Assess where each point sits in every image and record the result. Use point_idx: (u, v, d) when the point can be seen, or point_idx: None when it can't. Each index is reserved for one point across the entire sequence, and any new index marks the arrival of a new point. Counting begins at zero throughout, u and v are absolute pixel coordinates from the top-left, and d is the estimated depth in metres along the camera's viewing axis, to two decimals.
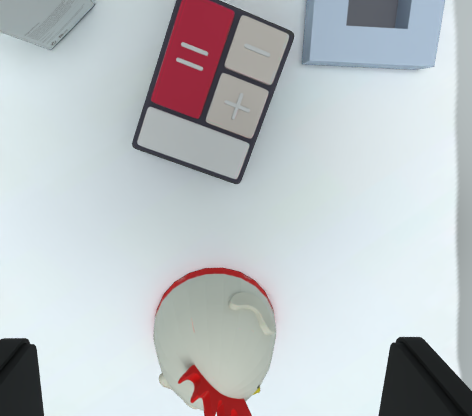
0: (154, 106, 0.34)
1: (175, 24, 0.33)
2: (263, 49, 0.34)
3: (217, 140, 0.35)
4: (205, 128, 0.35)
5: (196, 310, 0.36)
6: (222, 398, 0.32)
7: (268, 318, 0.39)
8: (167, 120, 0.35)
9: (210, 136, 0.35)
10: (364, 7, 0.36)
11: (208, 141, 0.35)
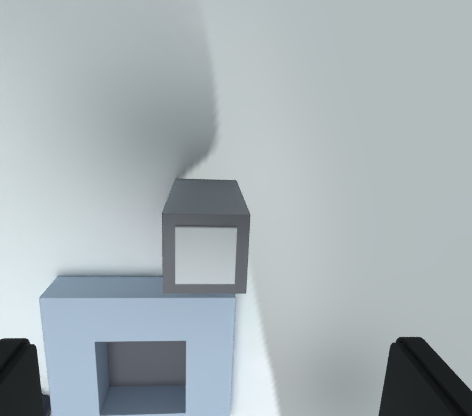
0: None
1: None
2: None
3: None
4: None
5: None
6: None
7: None
8: None
9: None
10: (142, 360, 0.28)
11: None
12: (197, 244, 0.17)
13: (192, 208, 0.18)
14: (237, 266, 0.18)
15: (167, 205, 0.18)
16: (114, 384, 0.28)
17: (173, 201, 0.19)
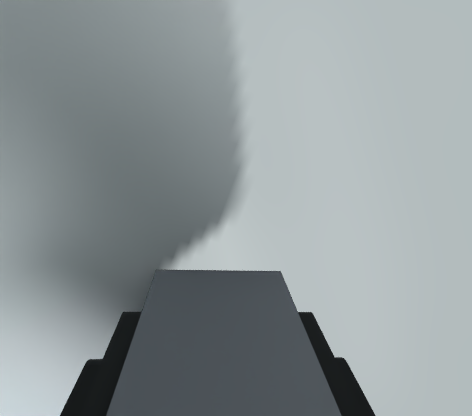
0: None
1: None
2: None
3: None
4: None
5: None
6: None
7: None
8: None
9: None
10: None
11: None
12: None
13: None
14: None
15: None
16: None
17: None
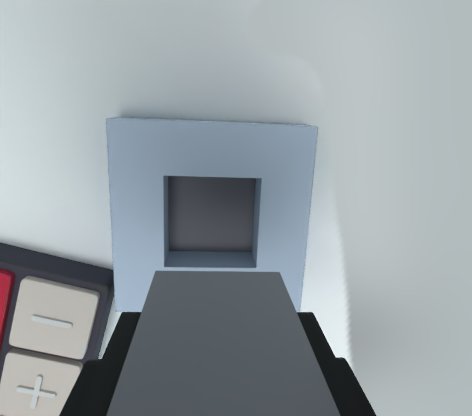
0: None
1: None
2: (61, 319, 0.23)
3: None
4: None
5: None
6: None
7: None
8: None
9: None
10: (205, 220, 0.25)
11: None
12: None
13: None
14: None
15: None
16: (174, 248, 0.26)
17: None
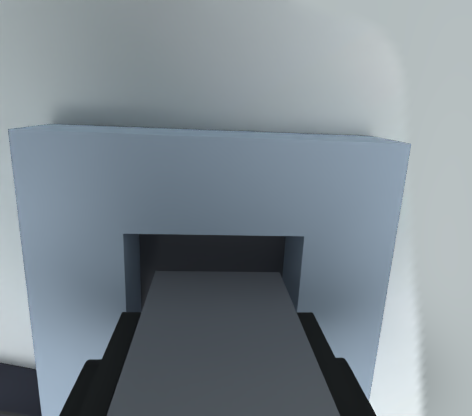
0: None
1: None
2: None
3: None
4: None
5: None
6: None
7: None
8: None
9: None
10: None
11: None
12: None
13: None
14: None
15: None
16: None
17: None
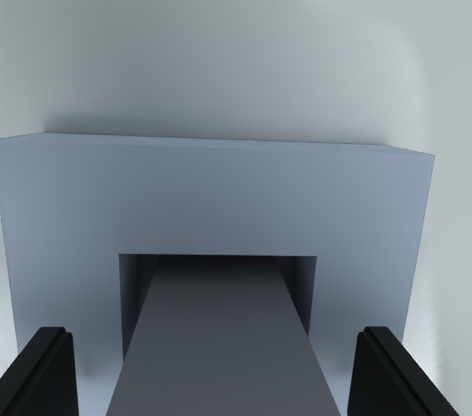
0: None
1: None
2: None
3: None
4: None
5: None
6: None
7: None
8: None
9: None
10: None
11: None
12: None
13: (187, 389, 0.07)
14: None
15: (124, 377, 0.07)
16: None
17: (143, 351, 0.08)
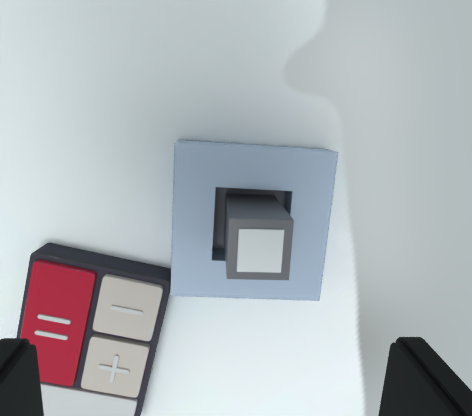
0: None
1: (28, 296, 0.29)
2: (134, 308, 0.29)
3: (99, 403, 0.31)
4: (82, 393, 0.31)
5: None
6: None
7: None
8: None
9: (89, 400, 0.31)
10: None
11: (88, 405, 0.31)
12: (254, 241, 0.23)
13: (249, 215, 0.24)
14: (283, 259, 0.24)
15: (230, 213, 0.24)
16: (216, 246, 0.32)
17: (233, 210, 0.25)
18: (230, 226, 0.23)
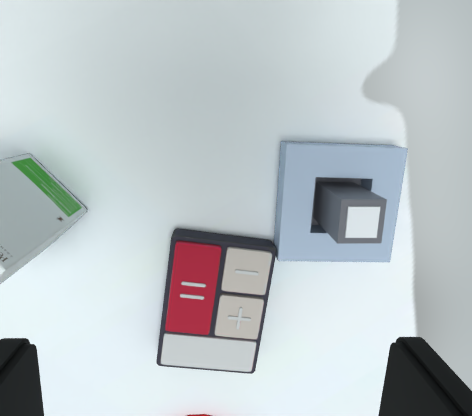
0: (169, 331, 0.40)
1: (173, 269, 0.38)
2: (252, 270, 0.39)
3: (228, 346, 0.41)
4: (215, 339, 0.40)
5: None
6: None
7: None
8: (182, 340, 0.40)
9: (221, 344, 0.40)
10: None
11: (220, 348, 0.40)
12: (359, 215, 0.32)
13: (352, 196, 0.33)
14: (377, 228, 0.33)
15: (337, 195, 0.33)
16: None
17: (337, 193, 0.34)
18: (342, 205, 0.32)
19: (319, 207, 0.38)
